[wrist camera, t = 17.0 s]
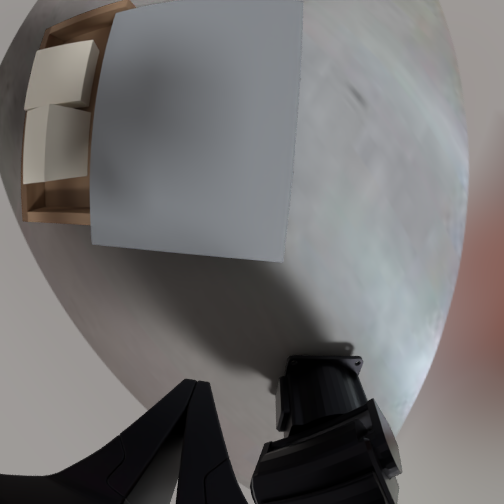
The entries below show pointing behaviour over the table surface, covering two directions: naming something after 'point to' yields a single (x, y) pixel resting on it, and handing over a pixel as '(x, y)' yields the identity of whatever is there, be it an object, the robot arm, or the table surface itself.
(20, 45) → the table surface
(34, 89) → the tile
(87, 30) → the box
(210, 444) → the robot arm
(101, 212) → the board
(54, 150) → the tile
